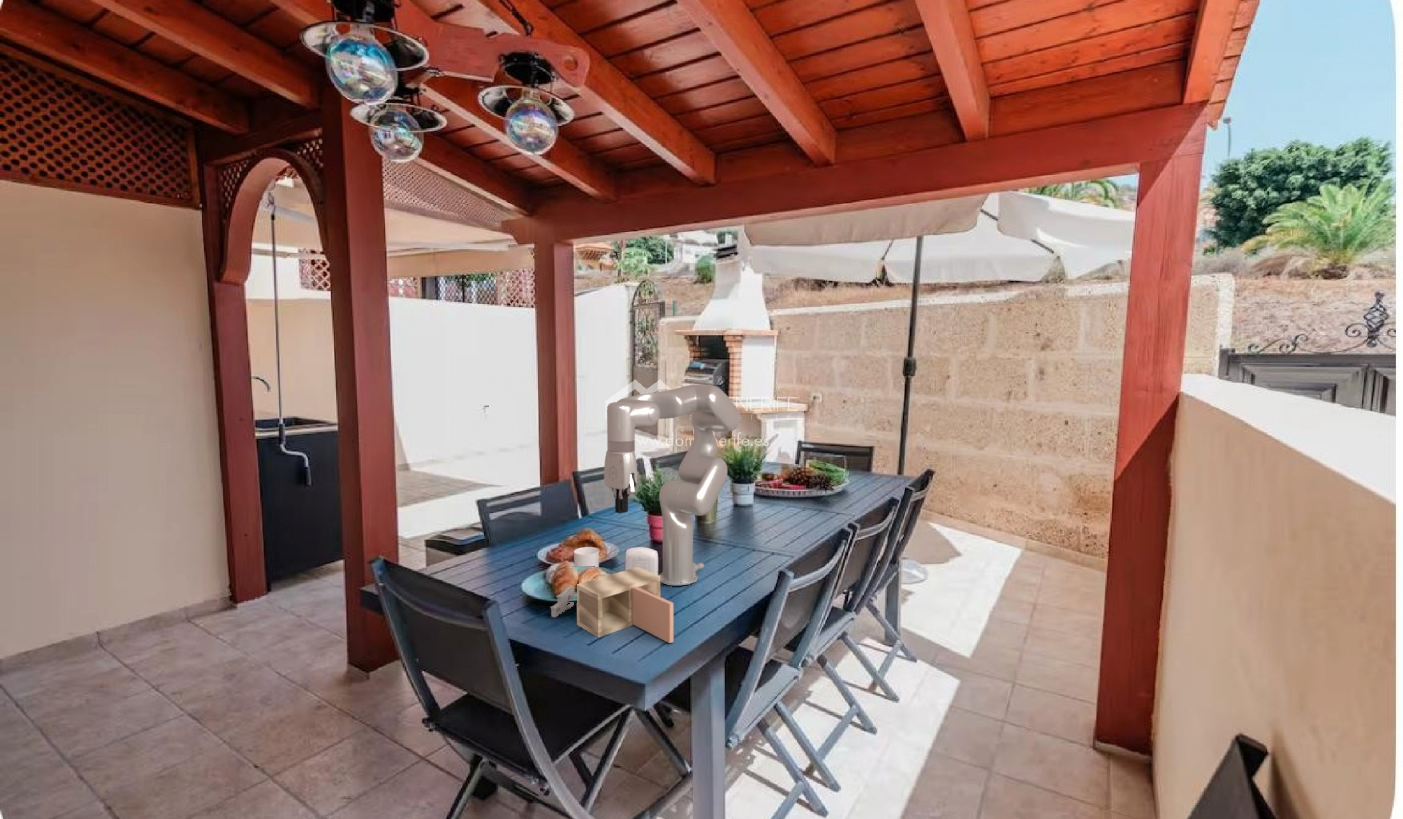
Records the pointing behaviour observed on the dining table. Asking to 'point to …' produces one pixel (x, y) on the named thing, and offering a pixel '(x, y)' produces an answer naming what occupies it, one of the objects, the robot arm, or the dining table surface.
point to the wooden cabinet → (612, 600)
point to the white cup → (586, 556)
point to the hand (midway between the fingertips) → (621, 512)
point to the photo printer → (642, 559)
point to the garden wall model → (562, 602)
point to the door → (652, 614)
